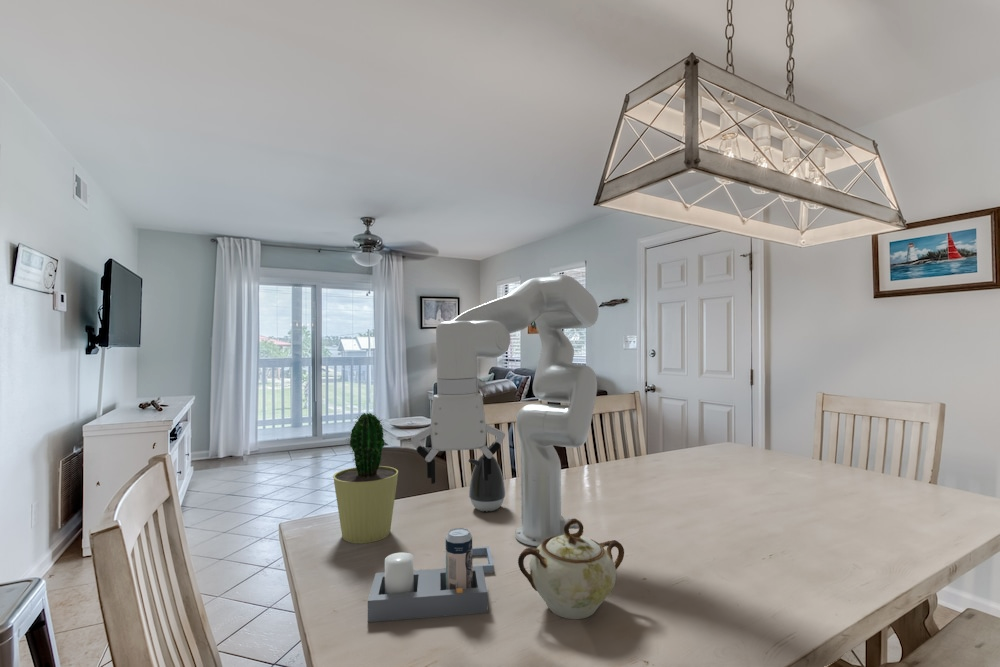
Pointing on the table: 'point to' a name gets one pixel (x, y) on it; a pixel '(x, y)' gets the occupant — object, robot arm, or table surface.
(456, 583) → the beer can
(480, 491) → the pump dispenser
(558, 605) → the sugar bowl
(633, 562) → the table surface
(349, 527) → the potted cactus
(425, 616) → the two-slot holder block
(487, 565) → the hollow square frame
